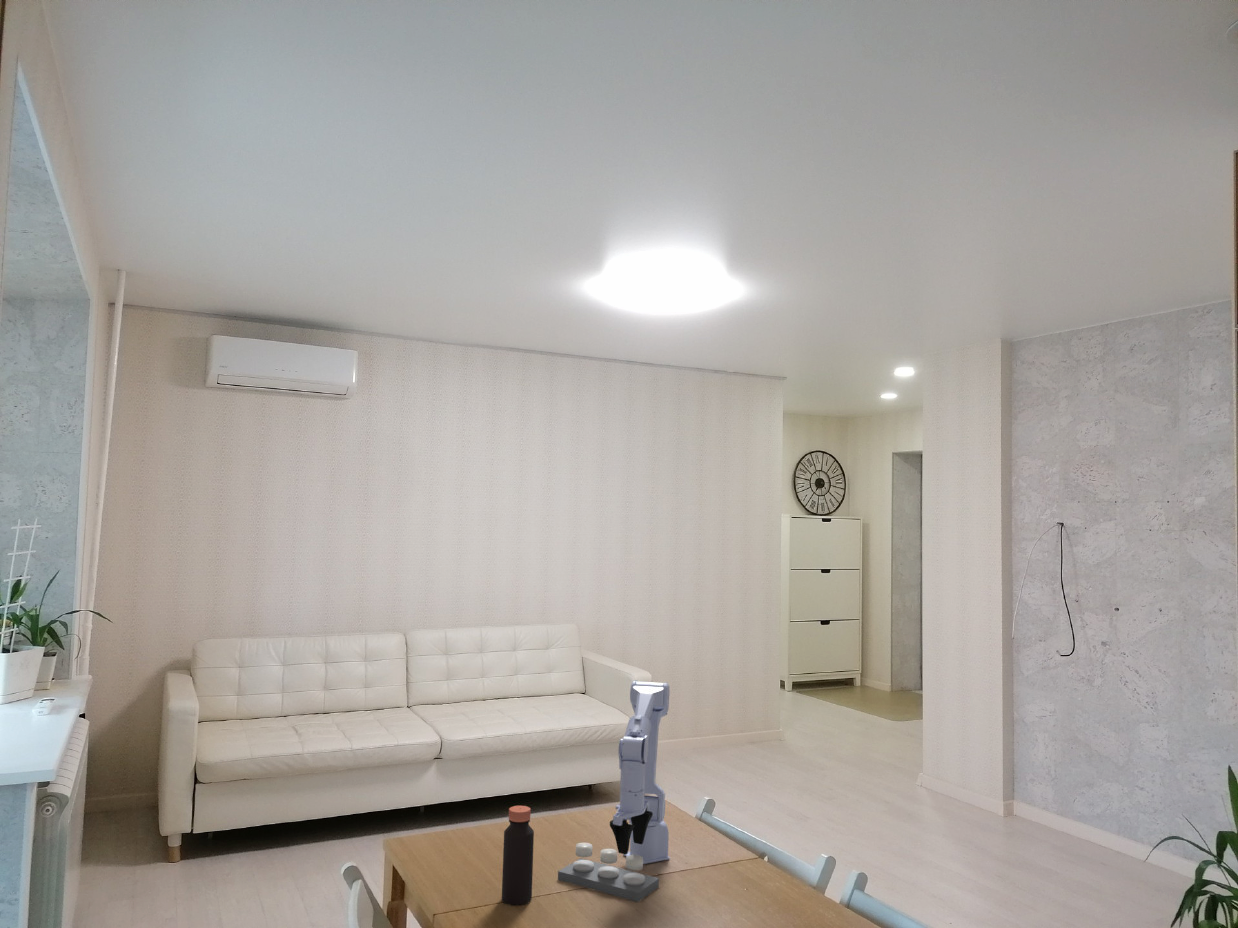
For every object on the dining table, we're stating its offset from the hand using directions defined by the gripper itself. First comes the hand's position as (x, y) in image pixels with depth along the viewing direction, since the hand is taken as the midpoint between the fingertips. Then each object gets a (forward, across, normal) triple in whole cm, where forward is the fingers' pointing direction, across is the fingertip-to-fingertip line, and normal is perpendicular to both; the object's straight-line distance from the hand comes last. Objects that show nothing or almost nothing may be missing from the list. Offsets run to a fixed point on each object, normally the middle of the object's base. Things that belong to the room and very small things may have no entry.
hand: (630, 848), depth 205 cm
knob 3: (+4, 0, +1) cm, 4 cm away
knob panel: (+9, 0, -6) cm, 11 cm away
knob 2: (+4, 0, -6) cm, 7 cm away
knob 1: (+4, -1, -13) cm, 14 cm away
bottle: (+10, +19, -19) cm, 28 cm away
